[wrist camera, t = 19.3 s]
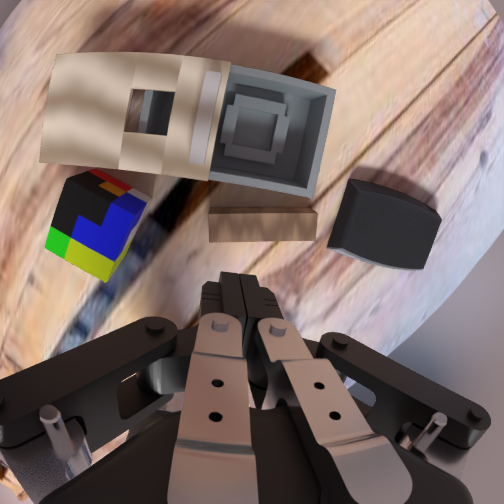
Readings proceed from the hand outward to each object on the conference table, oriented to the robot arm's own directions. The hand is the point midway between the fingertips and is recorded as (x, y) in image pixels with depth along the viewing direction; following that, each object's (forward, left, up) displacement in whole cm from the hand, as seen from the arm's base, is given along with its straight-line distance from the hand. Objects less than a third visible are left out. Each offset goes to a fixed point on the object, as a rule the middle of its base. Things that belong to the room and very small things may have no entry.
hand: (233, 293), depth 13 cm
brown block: (-4, -14, -31) cm, 34 cm away
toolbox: (+8, 0, -33) cm, 33 cm away
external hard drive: (-2, -28, -33) cm, 43 cm away
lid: (+8, +13, -24) cm, 29 cm away
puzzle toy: (-7, +16, -33) cm, 37 cm away
